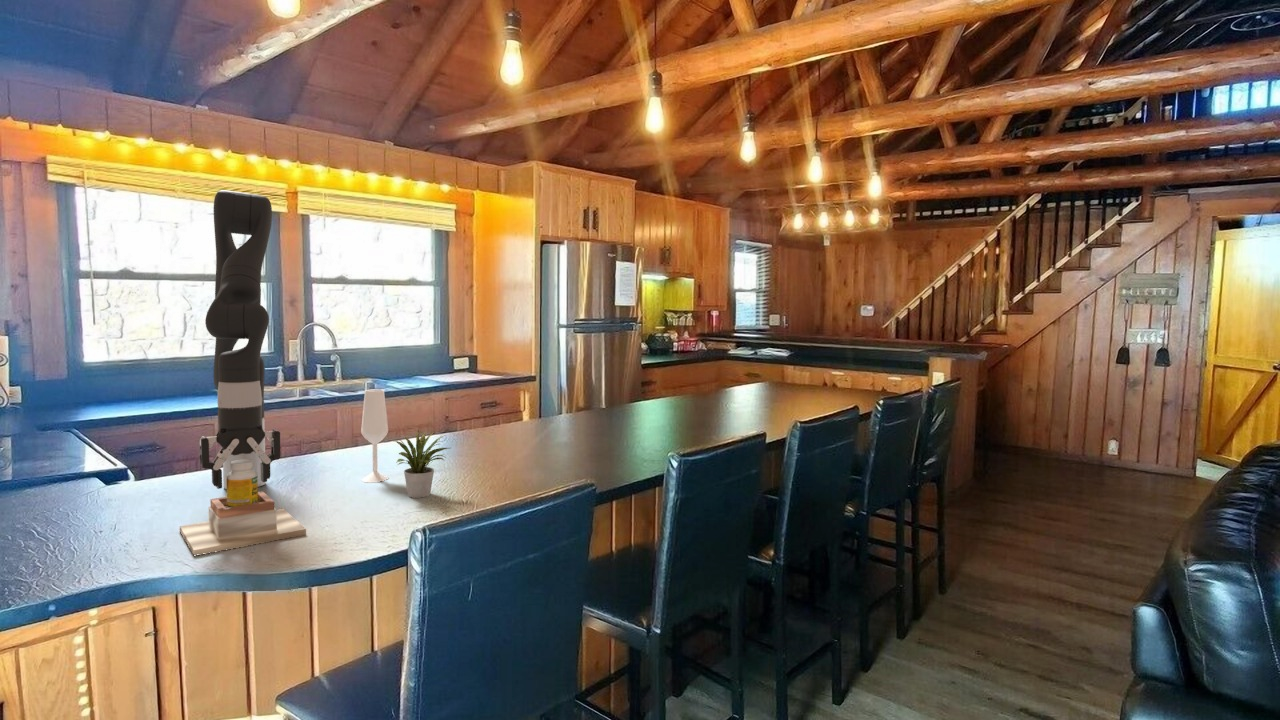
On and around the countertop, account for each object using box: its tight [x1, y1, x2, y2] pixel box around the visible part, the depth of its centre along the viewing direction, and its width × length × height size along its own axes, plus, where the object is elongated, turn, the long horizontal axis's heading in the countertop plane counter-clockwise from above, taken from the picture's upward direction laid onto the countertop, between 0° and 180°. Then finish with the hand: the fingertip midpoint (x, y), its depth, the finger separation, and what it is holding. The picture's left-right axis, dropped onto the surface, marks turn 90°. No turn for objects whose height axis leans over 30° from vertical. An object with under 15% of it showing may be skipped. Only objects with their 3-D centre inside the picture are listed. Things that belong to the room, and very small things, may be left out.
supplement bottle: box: [226, 459, 259, 507], centre depth 133 cm, size 5×5×10 cm
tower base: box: [179, 490, 307, 555], centre depth 133 cm, size 17×19×7 cm
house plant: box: [394, 429, 451, 499], centre depth 161 cm, size 14×14×16 cm
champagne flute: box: [360, 388, 389, 483], centre depth 176 cm, size 7×7×24 cm
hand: (241, 484), depth 133 cm, fingers open, 7 cm apart
